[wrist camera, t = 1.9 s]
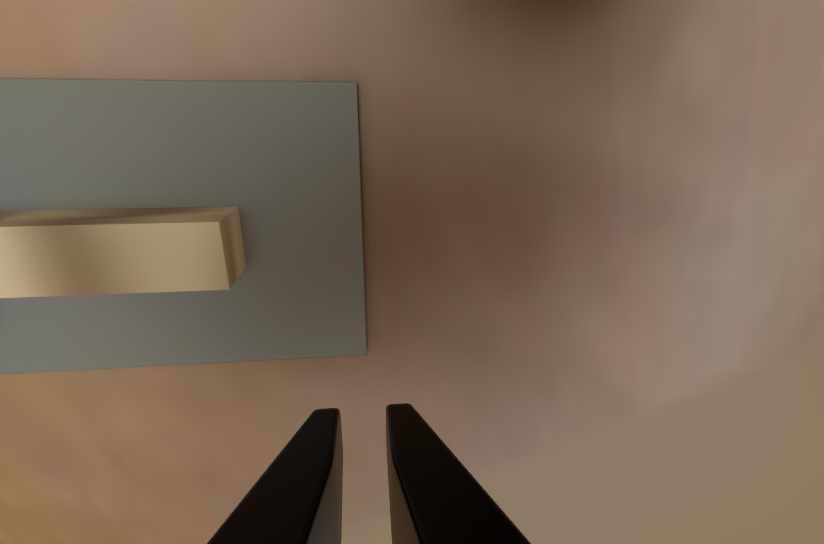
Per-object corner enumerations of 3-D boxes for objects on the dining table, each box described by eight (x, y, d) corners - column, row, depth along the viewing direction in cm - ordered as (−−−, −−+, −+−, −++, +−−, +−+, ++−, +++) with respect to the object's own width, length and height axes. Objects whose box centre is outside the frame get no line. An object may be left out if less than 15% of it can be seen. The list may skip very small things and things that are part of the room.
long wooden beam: (238, 206, 18) (218, 222, 15) (246, 266, 19) (229, 289, 16) (-2, 210, 17) (-63, 228, 15) (18, 273, 18) (-35, 299, 15)
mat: (356, 82, 17) (356, 82, 17) (366, 350, 21) (366, 354, 21) (-230, 76, 15) (-245, 76, 15) (-89, 374, 19) (-98, 379, 19)
